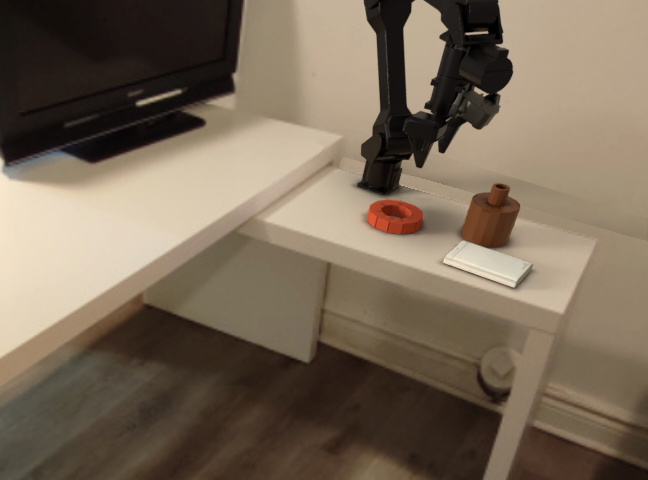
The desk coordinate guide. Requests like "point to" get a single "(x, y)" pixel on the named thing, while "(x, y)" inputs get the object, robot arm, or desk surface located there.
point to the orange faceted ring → (407, 211)
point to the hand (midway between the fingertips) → (430, 160)
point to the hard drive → (488, 263)
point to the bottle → (491, 217)
